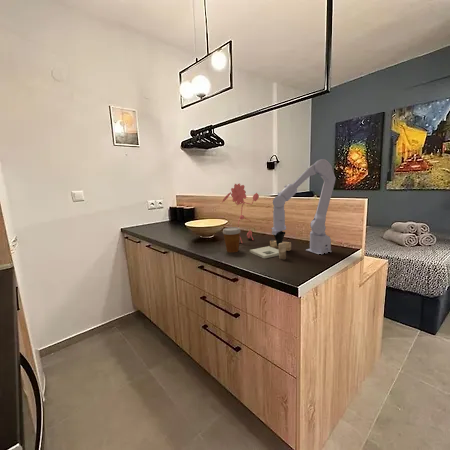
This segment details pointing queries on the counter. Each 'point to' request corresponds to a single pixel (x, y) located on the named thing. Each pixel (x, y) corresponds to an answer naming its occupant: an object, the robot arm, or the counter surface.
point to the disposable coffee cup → (232, 239)
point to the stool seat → (265, 252)
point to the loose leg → (282, 250)
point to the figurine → (238, 196)
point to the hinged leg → (274, 245)
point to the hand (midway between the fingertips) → (279, 245)
